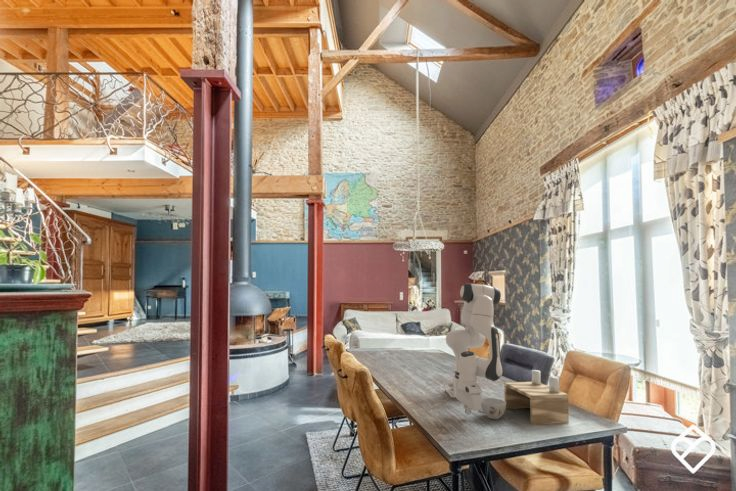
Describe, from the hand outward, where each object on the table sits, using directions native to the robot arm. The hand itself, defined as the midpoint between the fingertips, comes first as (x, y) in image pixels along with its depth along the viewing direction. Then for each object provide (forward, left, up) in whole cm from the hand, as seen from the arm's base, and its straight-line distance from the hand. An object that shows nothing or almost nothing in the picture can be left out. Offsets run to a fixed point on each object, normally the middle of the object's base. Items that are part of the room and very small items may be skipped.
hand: (467, 414), depth 188 cm
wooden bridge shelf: (0, +38, -2) cm, 38 cm away
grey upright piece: (+7, +44, +11) cm, 46 cm away
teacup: (0, +13, -3) cm, 13 cm away
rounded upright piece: (-7, +44, +11) cm, 46 cm away
